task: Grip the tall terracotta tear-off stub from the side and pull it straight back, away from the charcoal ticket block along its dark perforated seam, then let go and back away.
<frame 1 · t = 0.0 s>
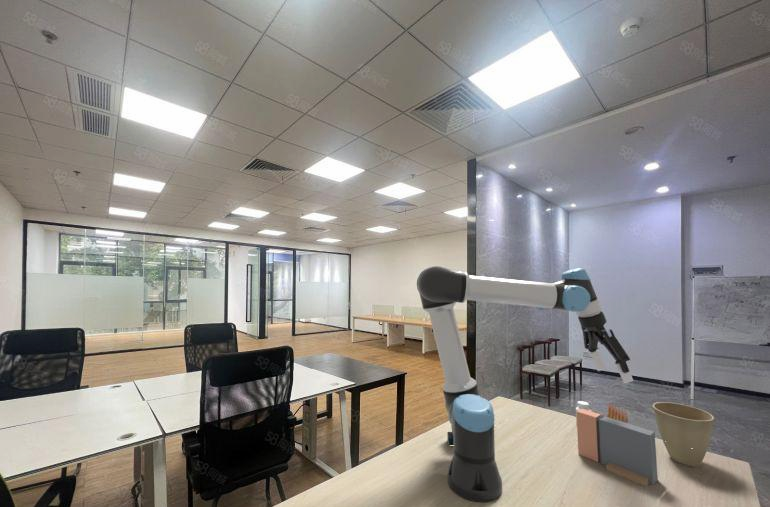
hand: (614, 375, 106), 28 cm above the table, tool tilted 20°, fingers open, 13 cm apart
supplement bottle: (584, 428, 129), on the table
ticket block: (627, 471, 100), on the table
watch: (455, 444, 117), on the table
plant pot: (685, 461, 106), on the table
ammunition clip: (618, 441, 119), on the table
stub: (589, 434, 109), point 7 cm above the table, slide at 0.0 cm
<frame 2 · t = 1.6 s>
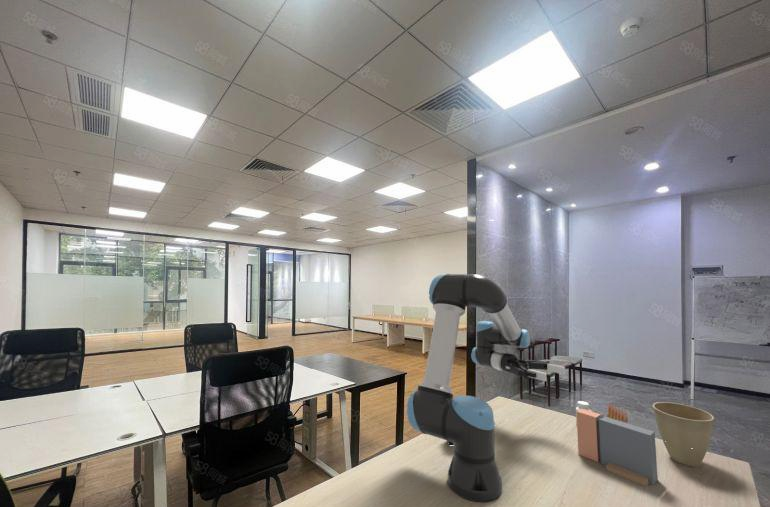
hand: (555, 374, 119), 25 cm above the table, tool horizontal, fingers open, 13 cm apart
nothing on the table moved.
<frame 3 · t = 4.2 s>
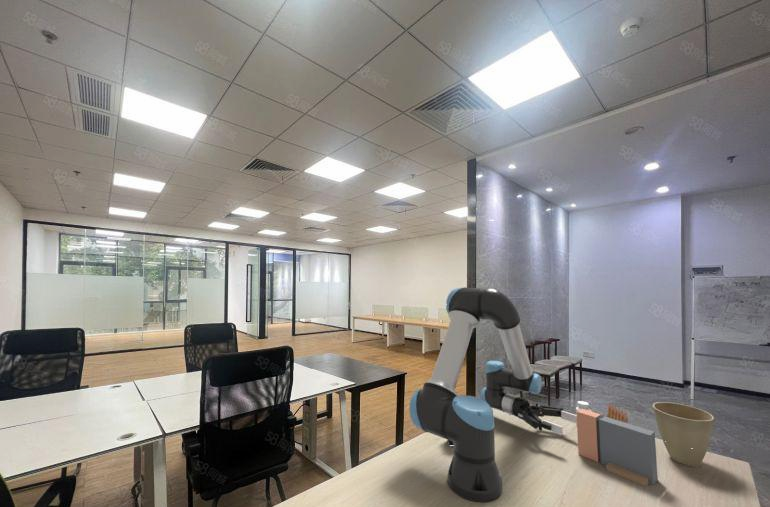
hand: (571, 425, 114), 8 cm above the table, tool horizontal, fingers open, 13 cm apart
nothing on the table moved.
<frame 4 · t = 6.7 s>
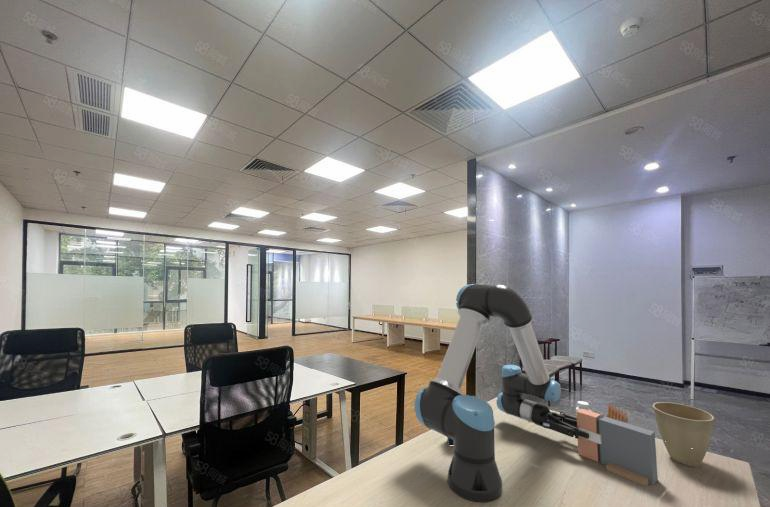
hand: (604, 437, 106), 8 cm above the table, tool horizontal, fingers closed on ticket block, 4 cm apart
nothing on the table moved.
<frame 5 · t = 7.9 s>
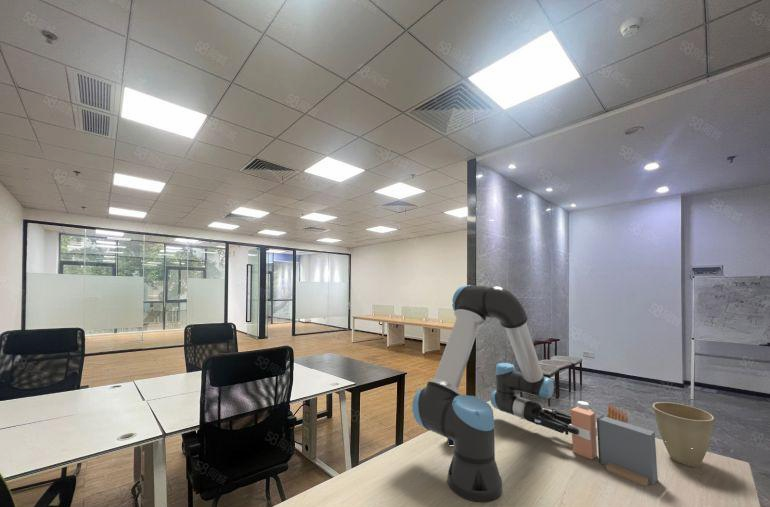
hand: (593, 433, 108), 8 cm above the table, tool horizontal, fingers closed on stub, 4 cm apart
stub: (583, 432, 110), point 7 cm above the table, slide at 1.8 cm, touching gripper
everything else where it was.
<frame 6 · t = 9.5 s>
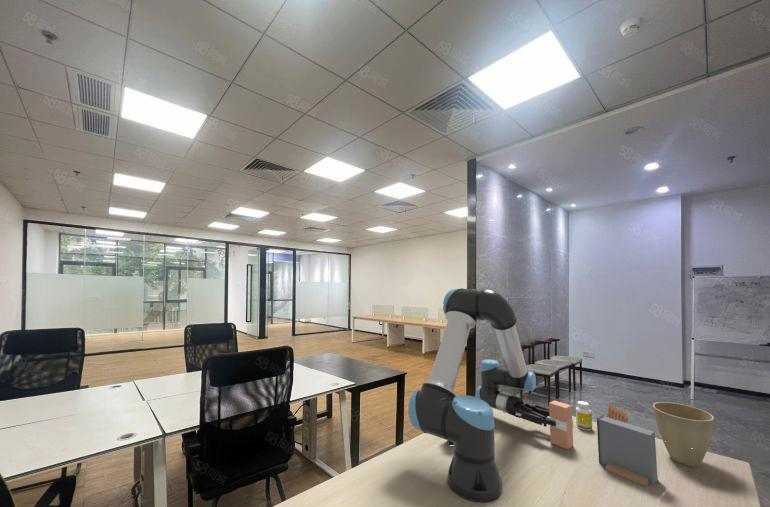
hand: (569, 425, 114), 8 cm above the table, tool horizontal, fingers closed on stub, 4 cm apart
stub: (561, 424, 117), point 7 cm above the table, slide at 9.4 cm, touching gripper
everything else where it was.
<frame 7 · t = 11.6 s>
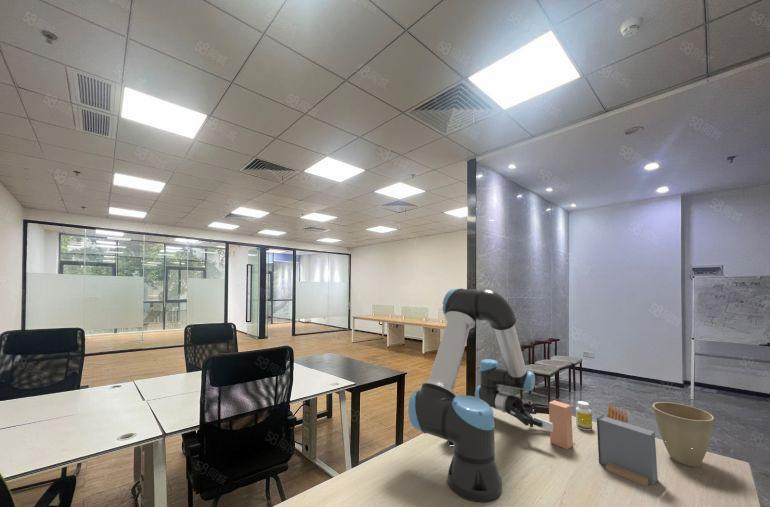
hand: (562, 422, 116), 8 cm above the table, tool horizontal, fingers open, 13 cm apart
stub: (560, 424, 117), point 7 cm above the table, slide at 9.6 cm
everything else where it was.
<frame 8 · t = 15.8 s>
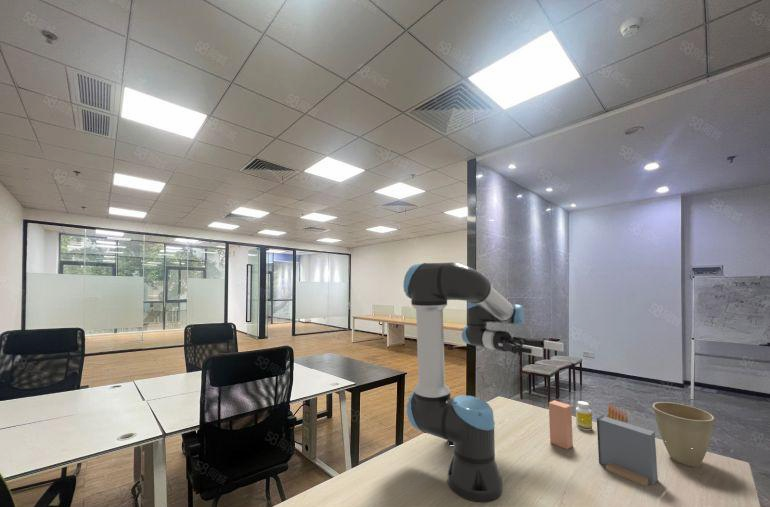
hand: (553, 349, 108), 36 cm above the table, tool horizontal, fingers open, 13 cm apart
nothing on the table moved.
at the end: stub slide at 9.6 cm; the gripper is holding nothing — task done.
